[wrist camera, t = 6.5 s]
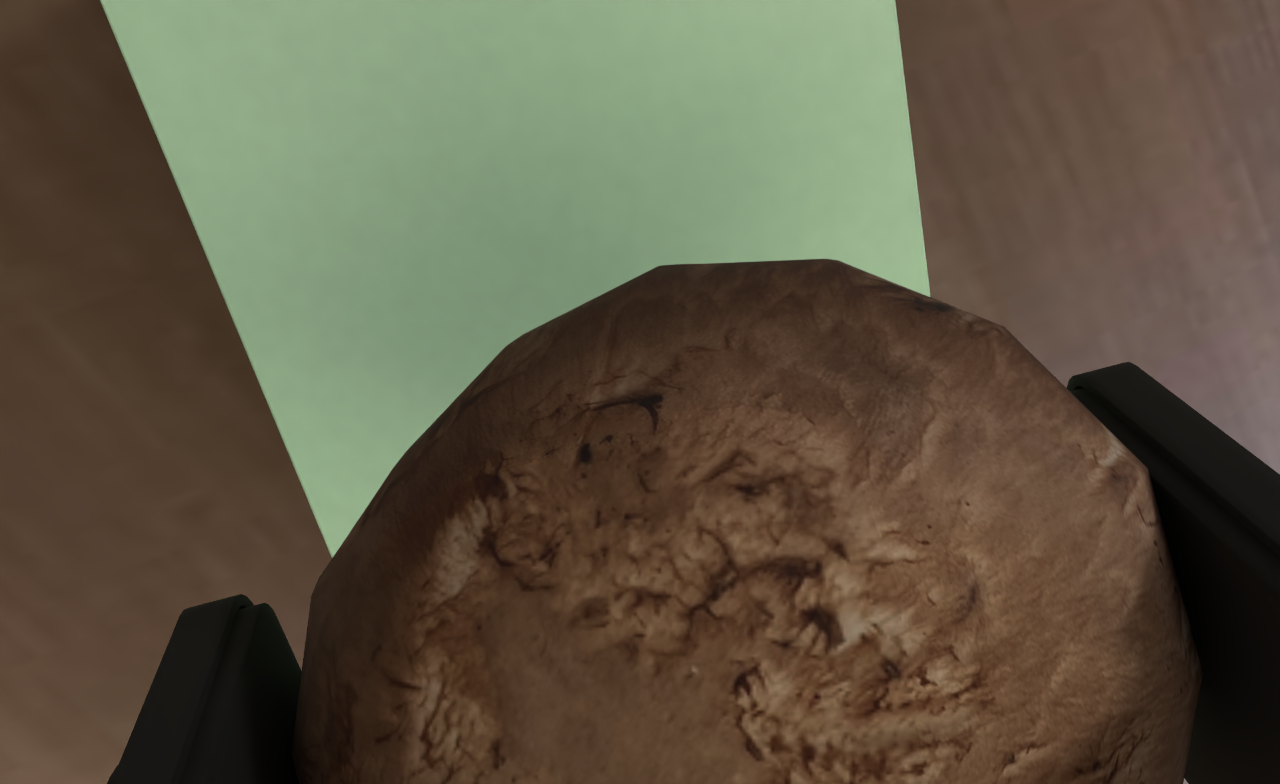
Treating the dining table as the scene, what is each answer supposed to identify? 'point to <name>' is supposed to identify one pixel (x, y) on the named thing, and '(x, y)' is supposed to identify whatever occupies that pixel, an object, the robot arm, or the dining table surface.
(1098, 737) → the mushroom
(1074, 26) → the dining table surface
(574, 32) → the green flat panel
